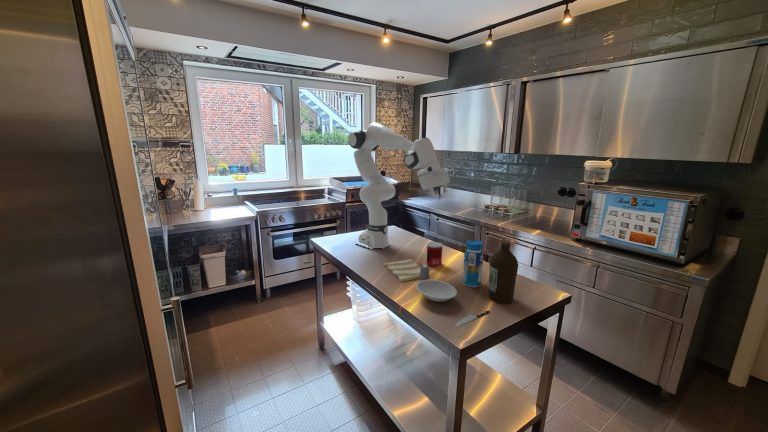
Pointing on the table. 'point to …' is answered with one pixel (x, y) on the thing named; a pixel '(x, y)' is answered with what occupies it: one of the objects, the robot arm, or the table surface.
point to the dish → (436, 290)
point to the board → (404, 269)
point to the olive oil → (502, 274)
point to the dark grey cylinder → (424, 273)
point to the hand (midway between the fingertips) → (440, 195)
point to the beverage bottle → (473, 264)
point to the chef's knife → (470, 318)
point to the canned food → (434, 254)
